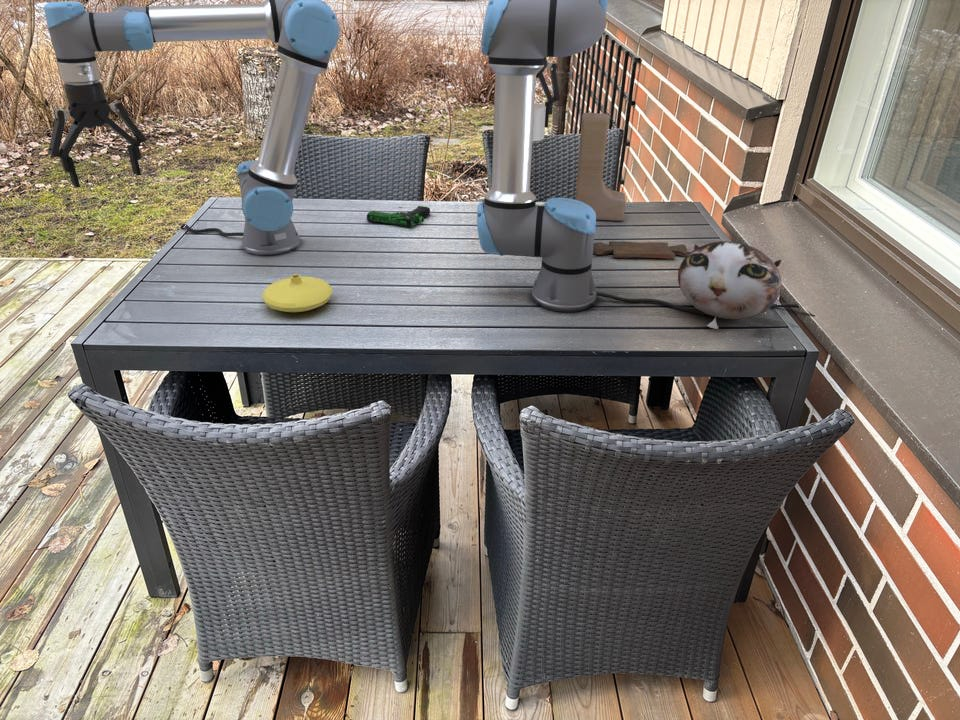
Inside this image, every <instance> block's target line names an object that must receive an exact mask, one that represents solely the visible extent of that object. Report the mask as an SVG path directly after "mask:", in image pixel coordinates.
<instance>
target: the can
mask: <svg viewBox="0 0 960 720" xmlns="http://www.w3.org/2000/svg"><path fill="white" fill-rule="evenodd" d="M545 114H546V106H545V104H542V103H536V102H535V104H534V122H533V140H532V142H540V141H543V140H545V129H546V128H545Z"/></svg>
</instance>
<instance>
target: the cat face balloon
mask: <svg viewBox="0 0 960 720" xmlns="http://www.w3.org/2000/svg"><path fill="white" fill-rule="evenodd" d="M781 263H782V259H779V260H776V261H773V259H771V258H770V257H769V256H768V255H767V254H765V253H764V252H763V251H761V250H759V249H758V248H756V247H753V246H751V245H749V244H745V243H743V242H737V241H727V240H726V241H725V240H724V241H714V242H710V243H709V242H708V243H705V244H703V245H701V246H698V244H696V243H695V244H694V246H693V250H692V251H690V252H689V253H687V256H684V258H683V259H682V262H681V263H680V265H679V269H678V272H677V282H678V286H679V289H680V291H681V293H682V295H683V296H684V298H685V300H686V301H687V302H689V303H690V304H691V306H693V307H694V308H695V309H699V310H700V311H702V312H704V313H706V314H705V315H708V316H712V317H714V319H713V320H712V321H711V322H709V323H708V324H706V325H705V326H706V327H708V328H710V329H715V330H720V329H719V326H718V324H717V318H719V319H722V320H723V319H724V320H745V319H749V318H753V317H757V316H758V315H761V314H763V313H764V312H766V311H768V310H769V309H770V308H772V307H771V306H772V305H773V304H774V303H777V300H778V298H779V297H780V294H781V291H782V285H783V283H782V276H781V272H780V271H779V268H778V267H779V266H780V265H781Z"/></svg>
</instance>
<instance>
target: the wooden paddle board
mask: <svg viewBox="0 0 960 720" xmlns="http://www.w3.org/2000/svg"><path fill="white" fill-rule="evenodd" d="M593 254H594V255H595V256H605V255H609V254H612V255H613V258H616V259H626V258H627V259H628V258H649V259H675V258H676V256H681V257H686V256H687V255H688V249H687V247H686V245H685V244H677V245H671V246H669V243H668V242H665V241H648V242H646V241H645V242H643V241H642V242H641V241H640V242H637V241H615V240H612V241H609V242H608V244H607V243H603V242H594V246H593Z"/></svg>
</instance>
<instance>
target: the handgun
mask: <svg viewBox="0 0 960 720" xmlns="http://www.w3.org/2000/svg"><path fill="white" fill-rule="evenodd" d="M430 214H431V209H430V207H428V206H424V205H423V206H422V205H417V206H416V208H414V209H412V210H411V211H407V212H403V211H400V212H399V211H397V212H392V213H391V212H382V211H377V210H371V211H369V212H368V213H367V214H366V221H367V222H372V223H380V224H390V225H396V226H401V227H403V228H404V227H405V228H411V229H412V228H413V227H415V226H418V224H421V223H423V222H424V220H425V218H427V217H429V216H430Z"/></svg>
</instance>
